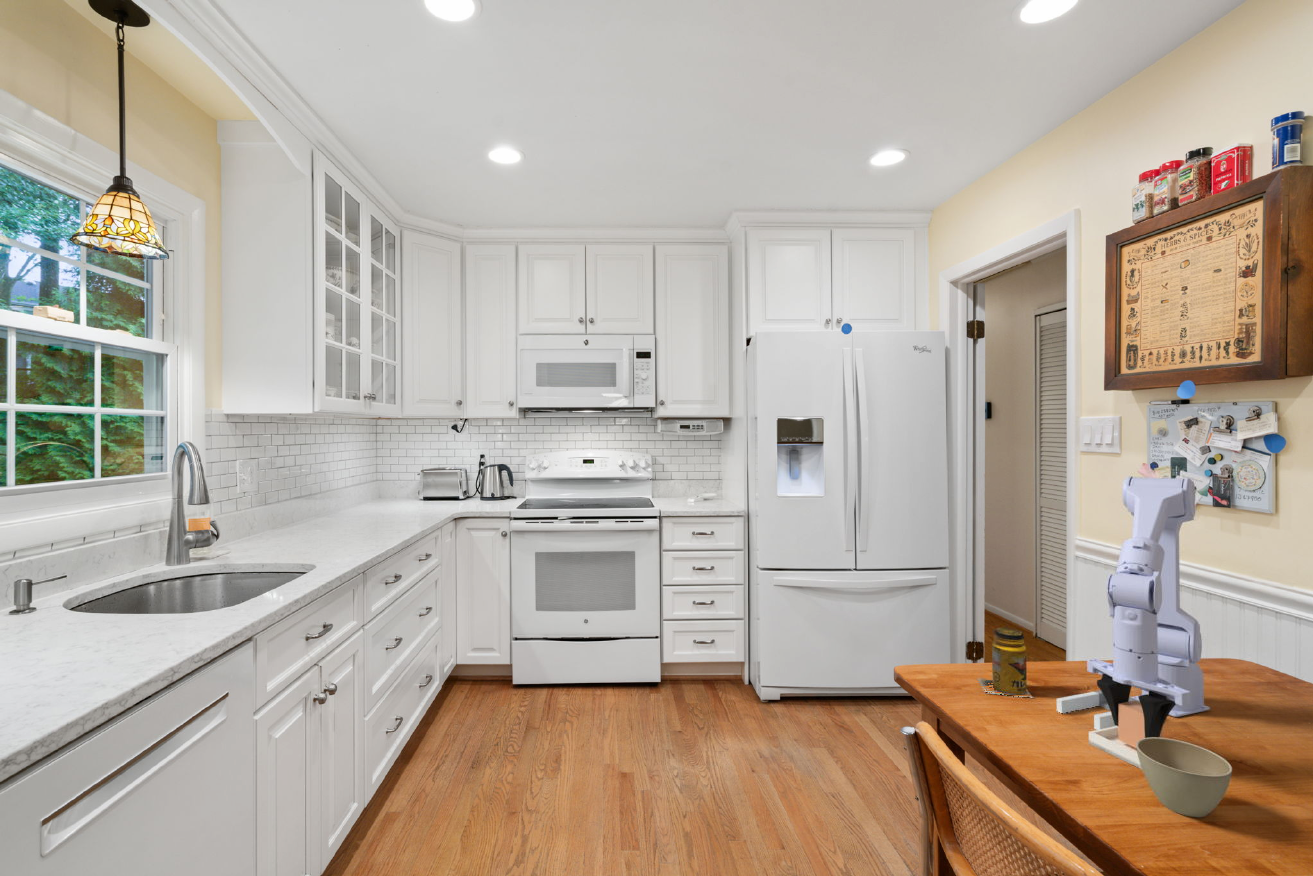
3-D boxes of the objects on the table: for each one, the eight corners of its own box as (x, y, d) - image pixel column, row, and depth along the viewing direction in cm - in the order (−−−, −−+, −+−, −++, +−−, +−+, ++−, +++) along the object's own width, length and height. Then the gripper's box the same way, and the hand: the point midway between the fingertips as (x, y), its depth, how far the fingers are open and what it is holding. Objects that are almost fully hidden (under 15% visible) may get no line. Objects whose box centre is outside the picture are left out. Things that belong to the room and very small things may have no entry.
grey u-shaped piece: (1109, 701, 116) (1108, 688, 116) (1154, 719, 108) (1154, 706, 108) (1093, 704, 114) (1093, 691, 114) (1138, 722, 107) (1138, 709, 107)
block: (1135, 736, 100) (1135, 700, 100) (1162, 748, 96) (1162, 711, 96) (1118, 739, 98) (1118, 703, 98) (1144, 752, 95) (1144, 714, 95)
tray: (1127, 735, 102) (1127, 723, 102) (1187, 761, 94) (1187, 749, 94) (1088, 743, 100) (1088, 731, 100) (1147, 772, 91) (1147, 759, 91)
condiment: (1033, 699, 117) (1032, 638, 117) (985, 694, 120) (984, 634, 120) (1022, 684, 124) (1022, 626, 124) (977, 680, 127) (976, 623, 127)
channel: (1093, 704, 114) (1093, 691, 114) (1138, 722, 107) (1138, 709, 107) (1056, 711, 112) (1056, 698, 112) (1099, 731, 104) (1099, 717, 104)
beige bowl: (1118, 787, 87) (1117, 738, 87) (1181, 783, 88) (1181, 735, 88) (1184, 832, 77) (1183, 777, 77) (1254, 827, 78) (1254, 773, 78)
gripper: (1073, 636, 103) (1074, 715, 103) (1167, 667, 89) (1169, 758, 89) (1103, 632, 105) (1104, 709, 105) (1199, 661, 91) (1201, 750, 91)
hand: (1136, 731), depth 97 cm, fingers open, 4 cm apart
